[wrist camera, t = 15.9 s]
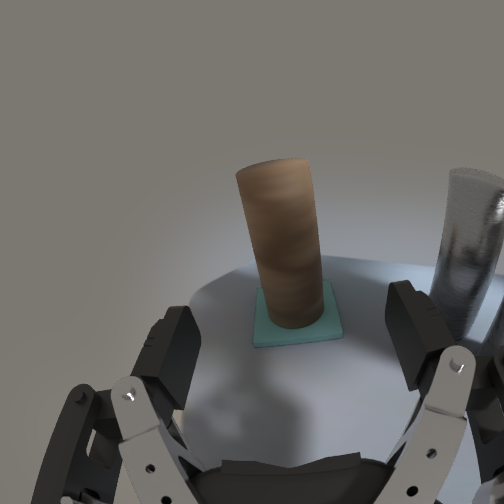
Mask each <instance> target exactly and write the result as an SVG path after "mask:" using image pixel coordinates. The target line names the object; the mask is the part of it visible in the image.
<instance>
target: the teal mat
mask: <svg viewBox="0 0 504 504" xmlns="http://www.w3.org/2000/svg"><path fill="white" fill-rule="evenodd" d="M323 294H324V312H323V314H322V316H321V317H320V318H319V319H318V320H317V321H316V322H315V323H313V324H311V325H309V326H307V327H304V328H299V329H286V328H282V327H279V326H277V325H276V324H274V323H273V322H272V321H271V319H270V318H269V314H268V310H267V306H266V302H265V297H264V293H263V289H262V288H257V298H256V310H255V321H254V333H253V346H254V348H255V347H268V346H280V345H290V344H299V343H308V342H316V341H323V340H331V339H337V338H343V330H342V326H341V322H340V318H339V314H338V310H337V306H336V302H335V298H334V294H333V291H332V287H331V283H330V280H329V279H328V280H323Z"/></svg>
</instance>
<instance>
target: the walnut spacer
mask: <svg viewBox="0 0 504 504" xmlns="http://www.w3.org/2000/svg"><path fill="white" fill-rule="evenodd" d="M236 179H237V183H238V187H239V192H240V196H241V200H242V204H243V208H244V212H245V217H246V221H247V225H248V229H249V234H250V238H251V242H252V246H253V251H254V255H255V259H256V263H257V268H258V272H259V276H260V280H261V285H262V289H263V293H264V297H265V302H266V306H267V310H268V314H269V318H270V319H271V321H272V322H273V323H274V324H276V325H277V326H279V327H282V328H286V329H299V328H304V327H307V326H309V325H311V324H313V323H315V322H316V321H317V320H318V319H319V318H320V317H321V316H322V314H323V312H324V294H323V280H322V267H321V256H320V245H319V235H318V226H317V217H316V209H315V201H314V193H313V186H312V179H311V172H310V166H309V161H308V160H305V159H298V158H290V159H289V158H288V159H278V160H271V161H266V162H262V163H258V164H254V165H251V166H248V167H246V168H243V169H241V170H240V171H238V172H237V173H236Z"/></svg>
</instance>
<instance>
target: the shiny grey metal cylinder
mask: <svg viewBox="0 0 504 504" xmlns="http://www.w3.org/2000/svg"><path fill="white" fill-rule="evenodd" d="M502 345H504V296H503V299H502V301H501V304H500V306H499V309H498V311H497V313H496V316H495V318H494V320H493V322H492V324H491V326H490V328H489V331H488V333H487V335H486V337H485V339H484V340H483V342H482V344H481V346H480V348H479V350H478V352H477V354H476V355H475V356H493V355H494V353H495V351H496V350H497V348H499V347H500V346H502Z"/></svg>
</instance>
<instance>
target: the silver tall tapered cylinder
mask: <svg viewBox="0 0 504 504" xmlns="http://www.w3.org/2000/svg"><path fill="white" fill-rule="evenodd" d="M503 241H504V179H502V178H500V177H498V176H496V175H493V174H491V173H488V172H485V171H481V170H477V169H471V168H454V169H452V170H450V173H449V187H448V198H447V207H446V215H445V222H444V228H443V234H442V241H441V246H440V251H439V256H438V260H437V265H436V269H435V274H434V278H433V282H432V286H431V289H430V293H429V297H430V298H431V300H432V301H433V303H434V305H435V306H436V309H437V310H438V311H439V313H440V316H441V317H442V318H443V320H444V322H445V324H446V325H447V327H448V329H449V331H450V333H451V334H452V336H453V338H454V340H455V341H457V340H460V339H462V338H464V337H465V336H466V335H467V334H468V333H469V331H470V329H471V327H472V325H473V323H474V321H475V319H476V316H477V314H478V312H479V310H480V307H481V305H482V303H483V300H484V298H485V295H486V293H487V290H488V288H489V285H490V282H491V279H492V277H493V274H494V271H495V268H496V264H497V261H498V258H499V255H500V252H501V248H502V245H503Z"/></svg>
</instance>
